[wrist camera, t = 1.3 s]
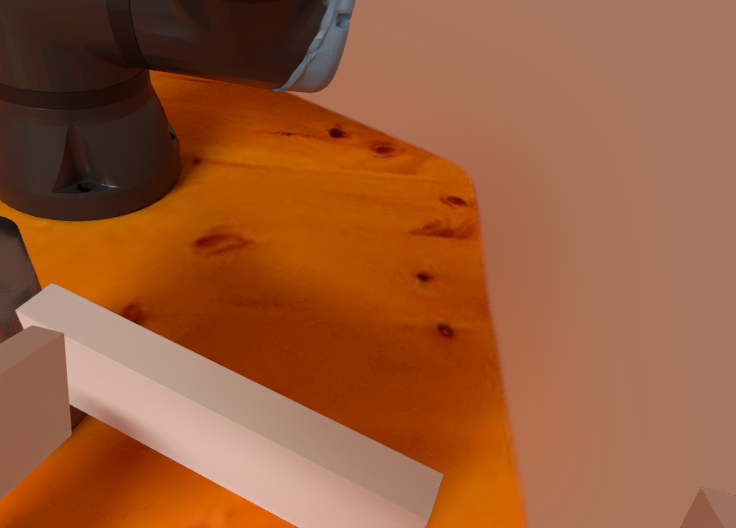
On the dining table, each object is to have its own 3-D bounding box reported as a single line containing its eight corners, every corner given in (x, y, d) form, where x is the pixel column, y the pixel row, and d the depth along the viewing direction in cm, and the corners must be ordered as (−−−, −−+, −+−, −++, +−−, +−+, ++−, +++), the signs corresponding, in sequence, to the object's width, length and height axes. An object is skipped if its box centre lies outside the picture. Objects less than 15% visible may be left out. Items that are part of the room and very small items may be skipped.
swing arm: (53, 395, 28) (15, 310, 23) (83, 368, 29) (52, 282, 25) (391, 577, 24) (428, 521, 20) (406, 536, 26) (443, 474, 21)
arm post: (49, 334, 33) (-13, 179, 25) (126, 373, 32) (88, 225, 24) (-39, 407, 29) (-148, 250, 21) (46, 455, 28) (-34, 309, 20)
